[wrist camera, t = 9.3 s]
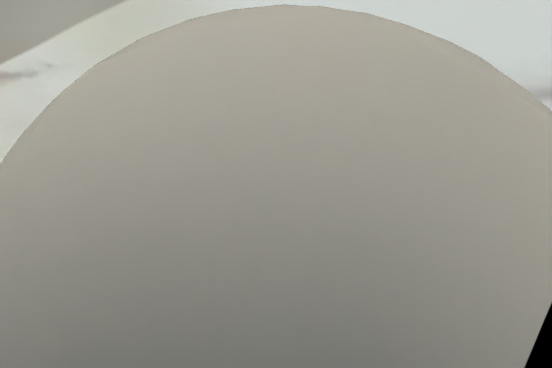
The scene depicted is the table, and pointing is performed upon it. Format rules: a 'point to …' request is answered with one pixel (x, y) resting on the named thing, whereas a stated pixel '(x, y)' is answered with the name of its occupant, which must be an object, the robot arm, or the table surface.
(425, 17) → the table surface
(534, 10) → the table surface
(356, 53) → the pill bottle
